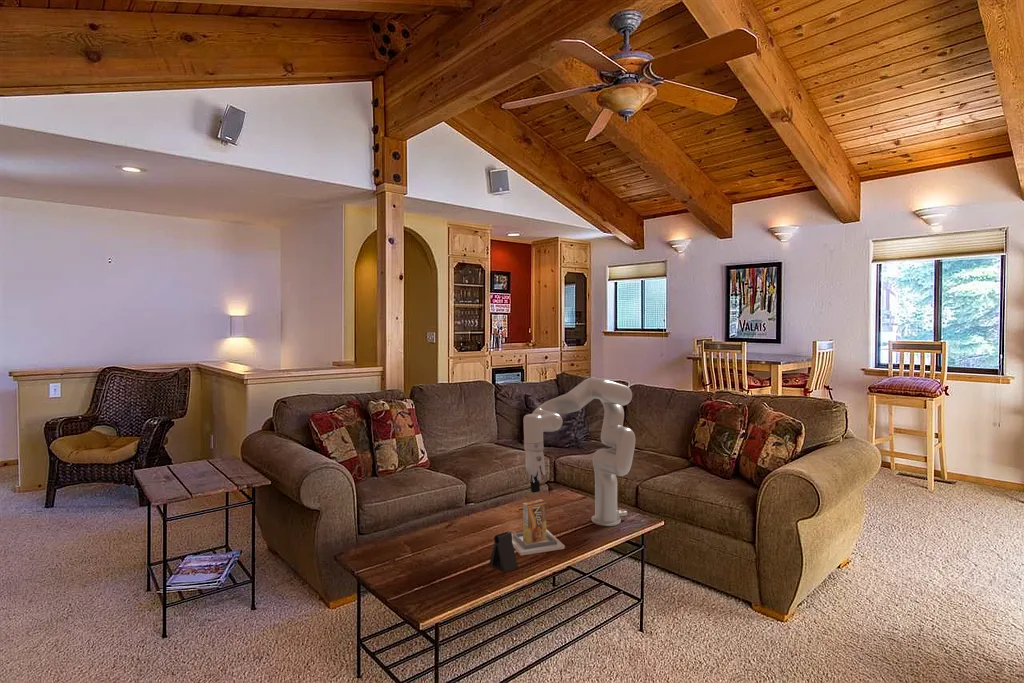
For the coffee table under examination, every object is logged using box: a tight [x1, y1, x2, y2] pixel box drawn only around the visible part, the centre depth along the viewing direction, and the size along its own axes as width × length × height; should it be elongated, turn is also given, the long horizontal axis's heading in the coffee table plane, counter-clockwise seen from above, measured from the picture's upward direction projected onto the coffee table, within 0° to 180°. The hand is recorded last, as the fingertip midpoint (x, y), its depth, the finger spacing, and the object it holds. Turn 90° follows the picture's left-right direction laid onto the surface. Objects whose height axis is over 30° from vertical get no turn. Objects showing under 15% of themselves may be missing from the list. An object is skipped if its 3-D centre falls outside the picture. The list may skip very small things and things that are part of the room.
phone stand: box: [488, 531, 519, 573], centre depth 212 cm, size 9×6×12 cm, turn 40°
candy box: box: [522, 498, 547, 544], centre depth 232 cm, size 9×4×15 cm, turn 124°
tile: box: [511, 528, 566, 557], centre depth 232 cm, size 18×18×2 cm
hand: (535, 491), depth 231 cm, fingers closed
